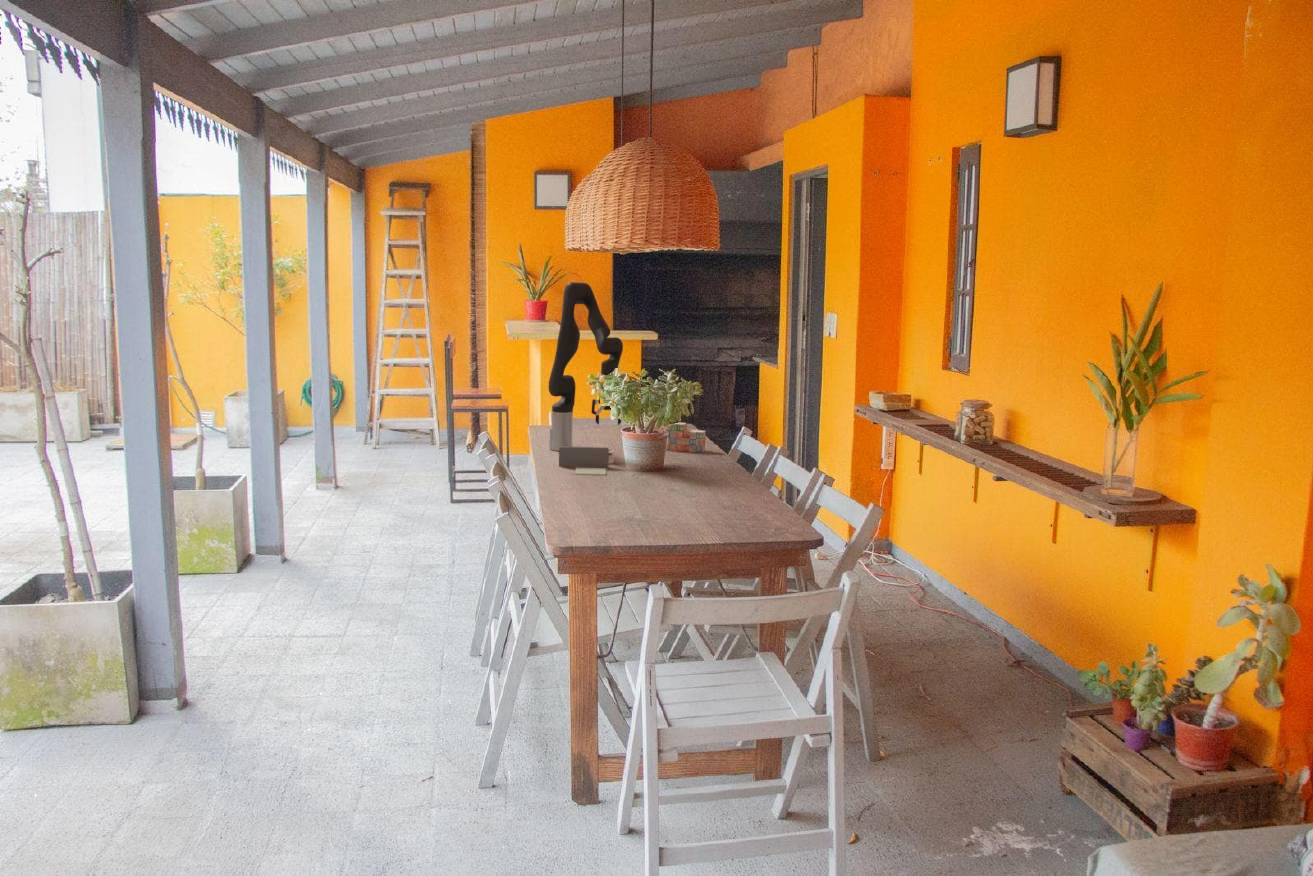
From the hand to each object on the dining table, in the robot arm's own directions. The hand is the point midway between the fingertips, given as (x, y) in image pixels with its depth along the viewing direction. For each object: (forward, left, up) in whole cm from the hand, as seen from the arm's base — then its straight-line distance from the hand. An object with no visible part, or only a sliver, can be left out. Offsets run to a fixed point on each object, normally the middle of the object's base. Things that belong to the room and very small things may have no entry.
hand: (608, 424), depth 422 cm
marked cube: (0, 0, -16) cm, 16 cm away
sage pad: (+3, -22, -16) cm, 28 cm away
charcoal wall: (-4, -14, -16) cm, 22 cm away
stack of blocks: (+15, +46, -16) cm, 51 cm away
